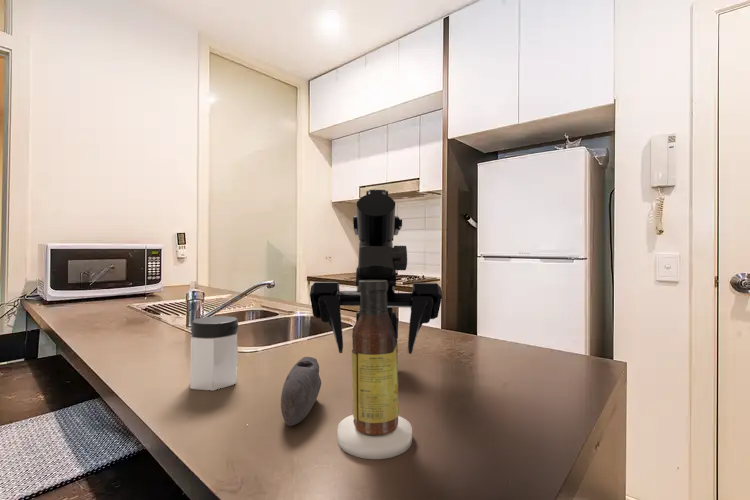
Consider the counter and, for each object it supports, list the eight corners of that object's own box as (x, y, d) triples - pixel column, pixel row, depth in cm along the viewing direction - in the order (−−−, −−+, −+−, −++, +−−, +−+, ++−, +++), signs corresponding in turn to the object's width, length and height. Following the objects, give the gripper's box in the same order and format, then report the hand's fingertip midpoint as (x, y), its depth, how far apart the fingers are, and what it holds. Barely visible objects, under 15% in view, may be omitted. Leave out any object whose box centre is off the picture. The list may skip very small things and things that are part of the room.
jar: (237, 388, 68) (238, 322, 68) (187, 394, 65) (188, 325, 65) (237, 373, 76) (238, 314, 76) (193, 377, 73) (194, 316, 73)
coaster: (323, 448, 47) (323, 436, 47) (357, 416, 57) (357, 406, 57) (397, 466, 43) (397, 454, 43) (420, 429, 53) (420, 418, 53)
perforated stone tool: (304, 436, 50) (305, 385, 50) (267, 435, 51) (267, 384, 51) (324, 394, 65) (325, 355, 65) (295, 393, 66) (295, 354, 66)
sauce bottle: (408, 429, 50) (409, 280, 50) (371, 443, 46) (373, 282, 46) (377, 412, 55) (378, 277, 55) (342, 424, 51) (343, 279, 51)
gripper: (312, 226, 54) (295, 315, 43) (440, 227, 54) (456, 316, 43) (319, 276, 62) (307, 362, 51) (431, 277, 62) (443, 364, 51)
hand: (375, 351), depth 49 cm, fingers open, 9 cm apart
